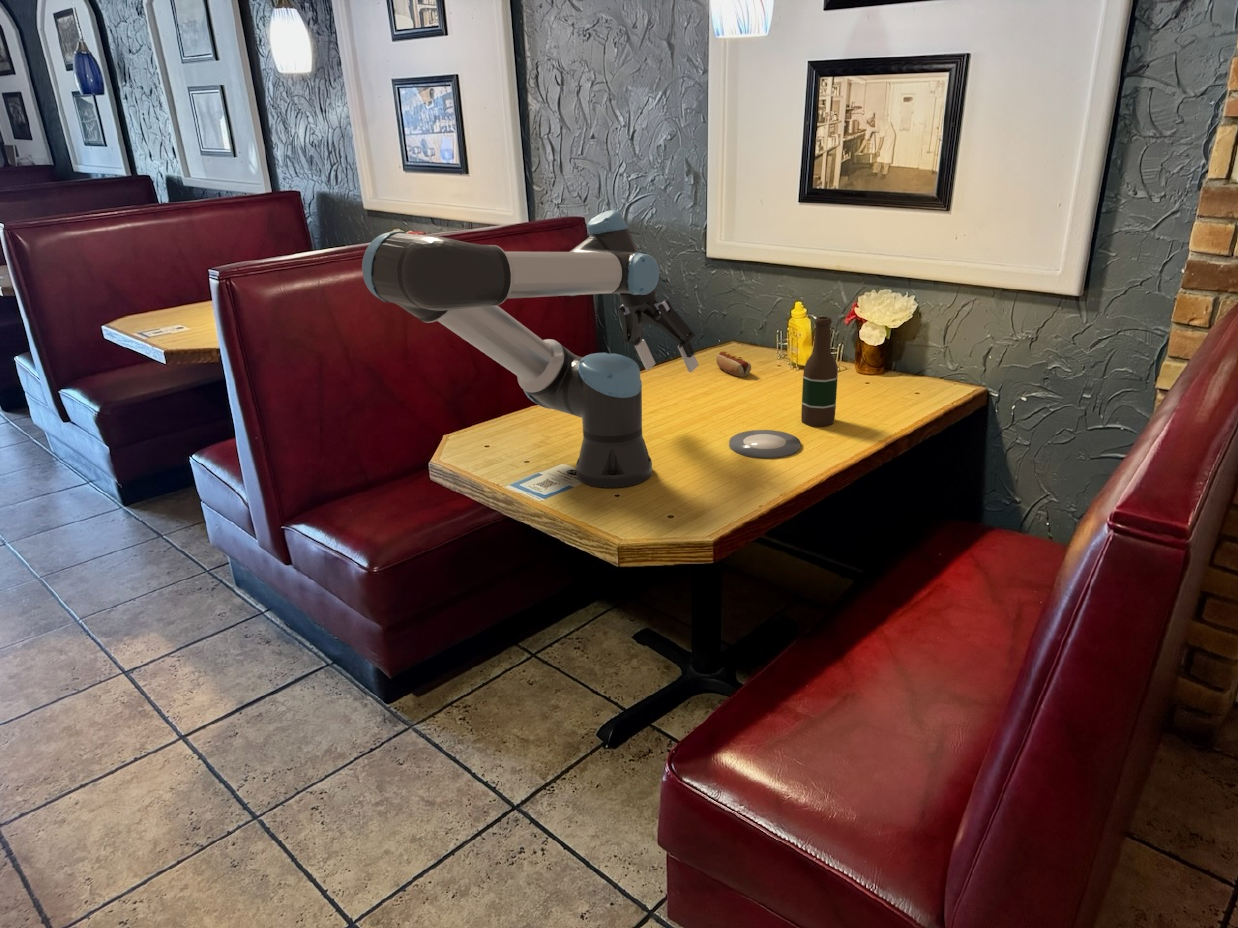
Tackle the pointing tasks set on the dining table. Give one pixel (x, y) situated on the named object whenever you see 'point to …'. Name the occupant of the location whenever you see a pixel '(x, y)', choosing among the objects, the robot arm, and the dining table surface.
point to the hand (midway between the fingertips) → (671, 368)
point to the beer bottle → (820, 379)
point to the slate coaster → (764, 444)
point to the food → (733, 364)
